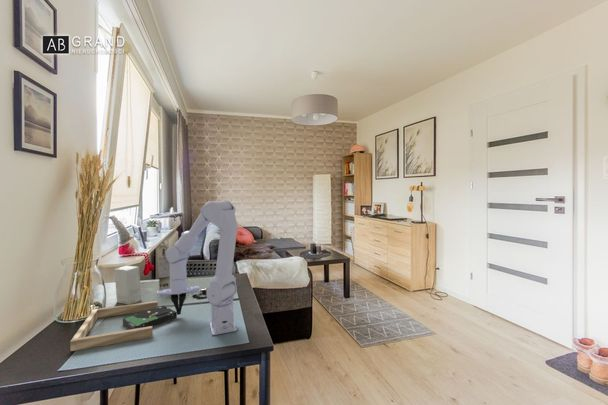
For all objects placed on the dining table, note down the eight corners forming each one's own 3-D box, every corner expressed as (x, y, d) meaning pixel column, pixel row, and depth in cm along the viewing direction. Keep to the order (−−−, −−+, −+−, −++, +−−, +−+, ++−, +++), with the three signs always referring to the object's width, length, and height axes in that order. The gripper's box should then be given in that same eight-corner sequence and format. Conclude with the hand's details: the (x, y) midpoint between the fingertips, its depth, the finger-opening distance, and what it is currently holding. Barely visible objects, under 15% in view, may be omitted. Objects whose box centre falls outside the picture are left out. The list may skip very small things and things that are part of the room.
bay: (152, 336, 94) (152, 327, 94) (70, 351, 86) (70, 341, 85) (157, 308, 117) (157, 300, 117) (93, 317, 108) (93, 309, 108)
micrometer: (202, 301, 125) (202, 295, 125) (190, 298, 128) (190, 293, 128) (225, 290, 139) (225, 285, 139) (214, 288, 142) (214, 283, 142)
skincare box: (141, 300, 125) (140, 266, 124) (128, 305, 119) (127, 270, 119) (128, 297, 128) (127, 264, 127) (114, 302, 123) (114, 267, 122)
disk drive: (163, 312, 114) (122, 325, 103) (163, 305, 114) (121, 317, 103) (177, 319, 108) (134, 334, 96) (177, 311, 108) (134, 326, 96)
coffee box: (174, 292, 135) (173, 258, 135) (158, 293, 133) (158, 259, 133) (176, 285, 144) (175, 254, 143) (162, 287, 142) (161, 254, 142)
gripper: (198, 272, 114) (198, 306, 115) (157, 277, 109) (158, 312, 109) (199, 277, 108) (199, 313, 109) (155, 282, 102) (156, 320, 103)
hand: (178, 313), depth 109 cm, fingers closed
